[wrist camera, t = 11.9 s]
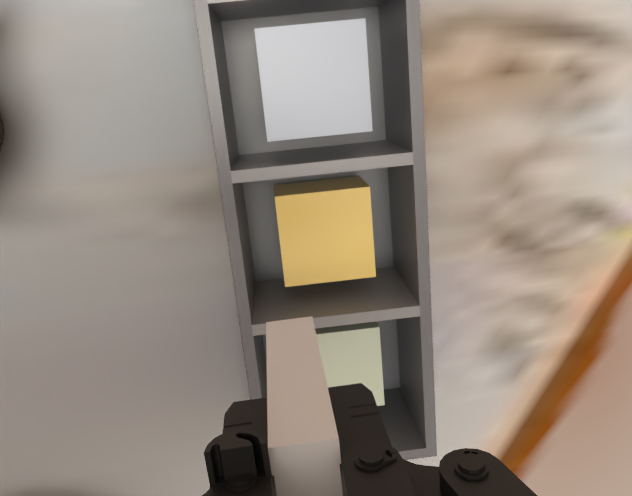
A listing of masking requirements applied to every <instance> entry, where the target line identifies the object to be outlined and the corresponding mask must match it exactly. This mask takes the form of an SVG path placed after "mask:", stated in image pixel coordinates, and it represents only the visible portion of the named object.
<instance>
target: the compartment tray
mask: <svg viewBox="0 0 632 496" xmlns="http://www.w3.org/2000/svg"><path fill="white" fill-rule="evenodd" d="M193 1H194V8H195V15H196V22H197V29H198V36H199V43H200V50H201V57H202V64H203V71H204V78H205V85H206V92H207V99H208V106H209V113H210V120H211V127H212V134H213V141H214V148H215V155H216V162H217V169H218V176H219V183H220V190H221V197H222V204H223V211H224V218H225V225H226V232H227V239H228V246H229V253H230V260H231V267H232V274H233V281H234V288H235V295H236V302H237V309H238V316H239V323H240V330H241V337H242V344H243V351H244V358H245V365H246V372H247V379H248V386H249V393H250V400H252V399H260V398H267V356H266V322H272V321H280V320H287V319H295V318H302V317H310V316H312V317H313V322H314V327H315V329H316V328H324V327H333V326H341V325H350V324H358V323H367V322H376V321H377V323H378V325H379V328H380V343H381V357H382V372H383V387H384V402H385V405H382V406H377V407H378V409H379V413H380V415H381V418H382V421H383V423H384V426H385V429H386V432H387V434H388V437H389V440H390V443H391V446H392V447H393V448H394V449H396V450H397V451H398V453H399V454H400V455H401V457H402V459H404V460H408V459H416V458H424V457H431V456H437V448H436V422H435V396H434V371H433V345H432V319H431V293H430V268H429V242H428V216H427V190H426V165H425V139H424V113H423V87H422V62H421V36H420V10H419V0H193ZM363 18H365V21H366V36H367V52H368V67H369V83H370V98H371V114H372V130H373V131H369V132H359V133H349V134H340V135H330V136H320V137H310V138H300V139H291V140H281V141H271V142H267V134H266V125H265V117H264V108H263V100H262V91H261V82H260V74H259V65H258V57H257V48H256V39H255V31H254V29H255V28H265V27H276V26H287V25H298V24H309V23H319V22H330V21H341V20H352V19H363ZM355 176H360V177H361V178H362V179H363V180H364V181H365V182H366V183H367V184H368V185H369V186H370V194H371V209H372V224H373V239H374V253H375V268H376V277H370V278H361V279H352V280H343V281H335V282H326V283H317V284H308V285H299V286H291V287H285V282H284V273H283V265H282V256H281V248H280V239H279V230H278V222H277V213H276V205H275V190H274V185H279V184H288V183H298V182H307V181H317V180H326V179H336V178H345V177H355Z"/></svg>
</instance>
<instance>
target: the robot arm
mask: <svg viewBox="0 0 632 496" xmlns="http://www.w3.org/2000/svg"><path fill="white" fill-rule="evenodd" d="M266 356H267V398H260V399H252V400H245V401H238V402H233V404H232V405H231V406H230V408H229V409H228V410H227V412H226V413H225V417H224V428H223V434H222V435H220V436H218V437H216V438H214V439H213V440H212V441H211V442H210V443H209V444H208V445H207V447H206V449H205V451H204V455H205V461H206V466H207V472H208V477H209V482H210V489H209V490H208V491H207V492H206V493H205V494H204V495H202V496H537V495H536V494H535V493H534V492H533V491H532V490H531V489H530V488H528V487H527V486H526V485H525V484H524V483H523V482H522V481H521V480H520V479H519V478H518V477H517V476H516V475H515V474H514V473H513V472H511V471H510V470H509V469H508V468H507V467H506V466H505V465H504V464H503V463H502V462H501V461H500V460H499V459H497V458H496V457H494V456H493V455H491V454H490V453H488V452H484V451H481V450H478V449H467V448H465V449H459V450H454V451H452V452H450V453H448V454H446V455H445V456H444V457H443V458H442V460H441V461H440V466H439V467H434V466H423V465H417V464H414V463H411V462H408V461H406V460H404V459H402V457H401V455H400V454H399V453H398V451H397V450H396V449H394V448H393V447H392V446H391V443H390V440H389V437H388V434H387V432H386V429H385V426H384V423H383V421H382V418H381V415H380V413H379V409H378V407H377V405H376V401H375V398H374V396H373V393H372V391H371V390H369V389H368V388H367V387H366V386H364V385H363V384H362V383H357V384H350V385H343V386H336V387H329V388H328V386H327V382H326V377H325V373H324V368H323V363H322V359H321V354H320V350H319V345H318V340H317V336H316V331H315V327H314V322H313V317H312V316H310V317H302V318H295V319H287V320H280V321H272V322H266Z"/></svg>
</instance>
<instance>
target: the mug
mask: <svg viewBox="0 0 632 496" xmlns="http://www.w3.org/2000/svg"><path fill="white" fill-rule="evenodd" d="M3 135H4V131H3V123H2V119H1V116H0V149H1V147H2V144H3Z"/></svg>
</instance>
